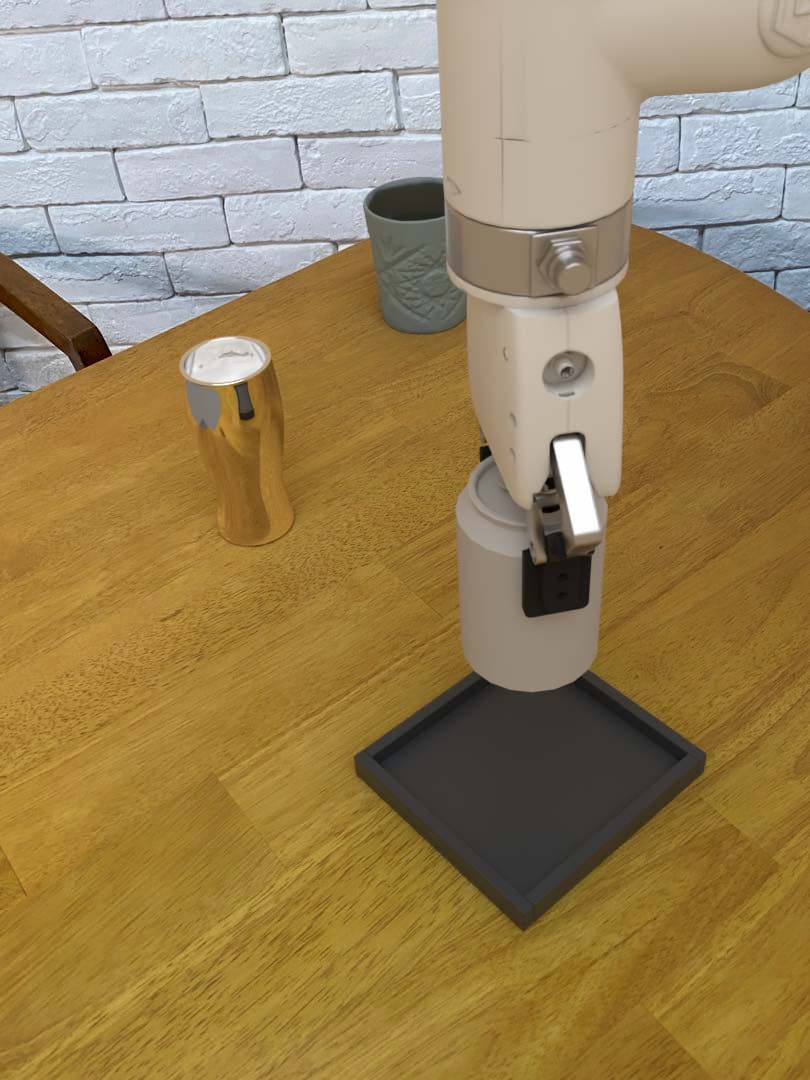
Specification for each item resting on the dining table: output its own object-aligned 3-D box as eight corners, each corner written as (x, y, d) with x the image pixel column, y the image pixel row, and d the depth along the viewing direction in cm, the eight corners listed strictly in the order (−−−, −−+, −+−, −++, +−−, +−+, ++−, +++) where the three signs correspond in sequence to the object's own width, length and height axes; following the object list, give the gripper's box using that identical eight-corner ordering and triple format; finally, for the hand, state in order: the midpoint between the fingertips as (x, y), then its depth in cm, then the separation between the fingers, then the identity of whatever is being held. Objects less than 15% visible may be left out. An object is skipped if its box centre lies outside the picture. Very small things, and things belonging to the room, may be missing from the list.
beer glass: (278, 557, 86) (249, 392, 76) (197, 542, 88) (158, 379, 78) (313, 501, 91) (289, 339, 81) (235, 488, 93) (203, 328, 83)
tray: (531, 647, 78) (531, 628, 76) (704, 772, 69) (707, 753, 68) (355, 774, 70) (353, 756, 69) (523, 932, 62) (523, 914, 60)
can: (579, 717, 59) (590, 543, 51) (443, 685, 61) (432, 514, 53) (611, 619, 64) (625, 448, 56) (484, 593, 66) (480, 424, 58)
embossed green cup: (448, 345, 108) (444, 228, 100) (354, 327, 111) (343, 213, 103) (488, 296, 114) (487, 182, 107) (399, 280, 118) (391, 169, 110)
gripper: (707, 323, 40) (663, 663, 52) (563, 141, 53) (553, 445, 65) (501, 355, 39) (503, 693, 51) (406, 162, 52) (425, 466, 64)
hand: (531, 552), depth 58 cm, fingers closed on can, 7 cm apart
